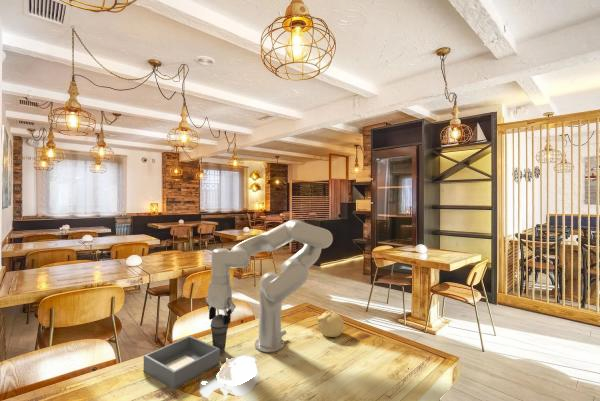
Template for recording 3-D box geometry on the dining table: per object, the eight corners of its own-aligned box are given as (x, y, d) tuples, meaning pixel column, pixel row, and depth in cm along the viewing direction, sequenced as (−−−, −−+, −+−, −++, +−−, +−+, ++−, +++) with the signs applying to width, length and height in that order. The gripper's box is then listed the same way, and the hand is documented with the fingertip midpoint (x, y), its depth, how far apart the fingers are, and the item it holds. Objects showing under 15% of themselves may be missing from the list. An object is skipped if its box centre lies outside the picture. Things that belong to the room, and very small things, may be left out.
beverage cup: (223, 357, 127) (224, 308, 127) (206, 355, 129) (207, 306, 128) (230, 349, 135) (231, 302, 134) (214, 346, 136) (215, 300, 135)
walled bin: (189, 349, 133) (190, 335, 133) (219, 363, 123) (219, 348, 123) (143, 371, 116) (143, 355, 116) (173, 390, 106) (174, 372, 106)
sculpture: (325, 326, 160) (326, 305, 159) (347, 333, 153) (348, 311, 152) (313, 334, 150) (313, 312, 150) (335, 342, 143) (336, 318, 143)
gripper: (199, 277, 132) (198, 318, 133) (228, 285, 123) (227, 330, 123) (213, 273, 139) (212, 313, 139) (242, 281, 129) (241, 323, 130)
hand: (219, 321), depth 131 cm, fingers open, 8 cm apart
